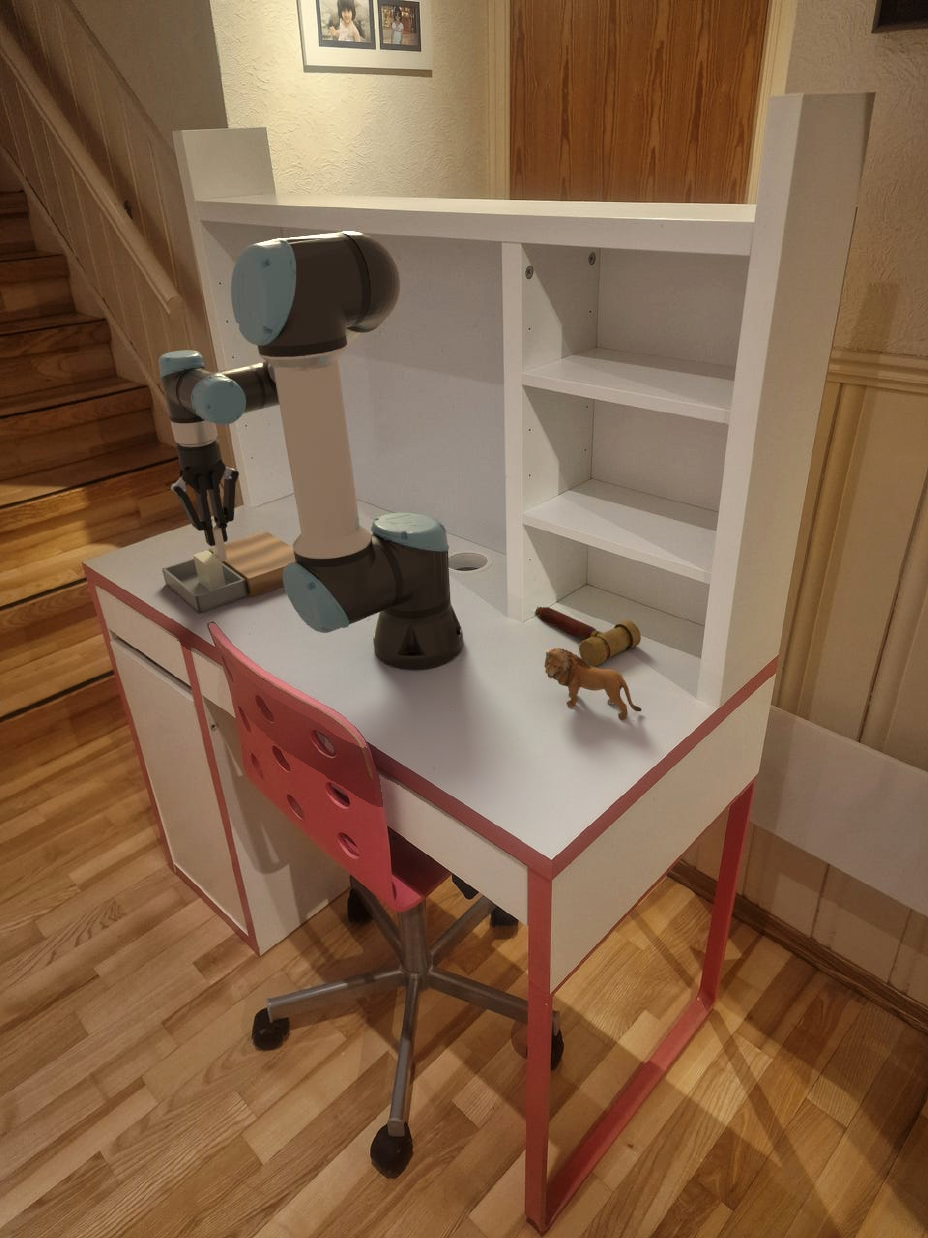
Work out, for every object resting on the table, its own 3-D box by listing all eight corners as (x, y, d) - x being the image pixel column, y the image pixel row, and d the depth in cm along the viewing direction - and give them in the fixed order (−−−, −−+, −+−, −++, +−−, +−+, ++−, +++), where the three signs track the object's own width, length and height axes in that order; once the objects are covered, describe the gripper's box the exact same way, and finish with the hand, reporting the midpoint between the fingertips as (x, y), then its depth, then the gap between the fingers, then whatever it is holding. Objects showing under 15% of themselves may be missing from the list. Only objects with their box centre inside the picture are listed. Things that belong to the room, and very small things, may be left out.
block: (220, 560, 161) (205, 564, 160) (226, 587, 164) (211, 592, 163) (207, 550, 165) (193, 554, 164) (213, 577, 168) (199, 582, 167)
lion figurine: (540, 707, 127) (540, 657, 123) (548, 688, 132) (548, 638, 127) (638, 723, 123) (642, 671, 118) (643, 702, 127) (648, 651, 123)
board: (311, 575, 168) (309, 557, 166) (252, 597, 161) (248, 578, 159) (269, 547, 181) (266, 530, 179) (212, 566, 174) (208, 549, 172)
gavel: (512, 606, 149) (554, 588, 154) (513, 629, 151) (555, 610, 156) (598, 646, 133) (641, 625, 138) (598, 671, 135) (641, 649, 140)
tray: (248, 595, 162) (245, 579, 160) (199, 613, 157) (195, 596, 155) (212, 568, 173) (209, 553, 171) (165, 584, 168) (162, 568, 166)
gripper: (221, 428, 159) (242, 542, 170) (153, 444, 152) (181, 562, 163) (239, 436, 153) (259, 554, 165) (169, 453, 147) (196, 575, 158)
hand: (220, 558), depth 164 cm, fingers closed
